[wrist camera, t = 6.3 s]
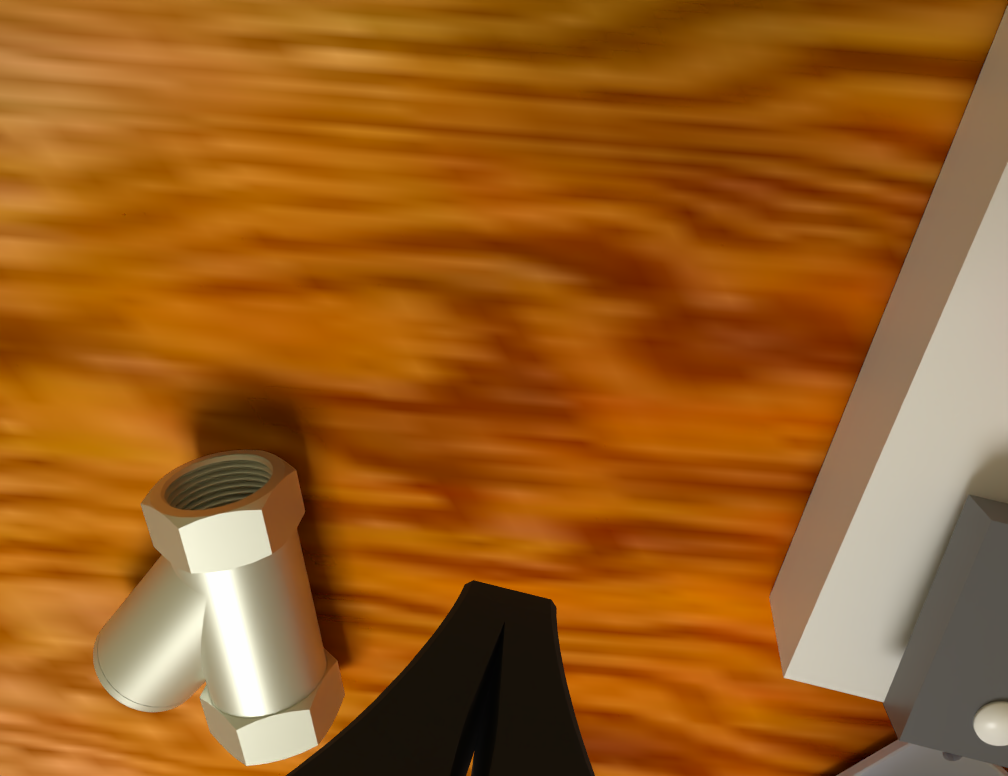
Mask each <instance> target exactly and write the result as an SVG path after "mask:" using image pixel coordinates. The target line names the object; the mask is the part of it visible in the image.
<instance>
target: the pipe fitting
mask: <svg viewBox="0 0 1008 776" xmlns="http://www.w3.org/2000/svg"><path fill="white" fill-rule="evenodd" d="M141 506H142V510H143V513H144V516H145V519H146V523H147V526H148V529H149V533H150V536H151V539H152V542H153V546H154V547H155V548H156V549H157V550H158V551H159V552H160V553H161V554H162V555H161V556H160V558H159V559H158V560H157V561H156V563H155V564H154V565H153V566H152V568H151V569H150V570H149V571H148V572H147V574H146V575H145V576H144V577H143V579H142V580H141V581H140V582H139V584H138V585H137V586H136V587H135V588H134V590H133V591H132V592H131V593H130V595H129V596H128V597H127V598H126V600H125V601H124V602H123V603H122V605H121V606H120V607H119V608H118V609H117V611H116V612H115V613H114V614H113V616H112V617H111V618H110V619H109V621H108V622H107V623H106V624H105V625H104V627H103V628H102V629H101V631H100V632H99V634H98V636H97V638H96V641H95V645H94V650H93V662H94V667H95V671H96V674H97V676H98V678H99V680H100V682H101V684H102V685H103V687H104V688H105V689H106V690H107V692H108V693H109V694H110V695H111V696H112V697H114V698H115V699H116V700H117V701H119V702H120V703H122V704H124V705H126V706H128V707H130V708H133V709H136V710H140V711H145V712H161V711H167V710H170V709H173V708H175V707H177V706H179V705H181V704H183V703H184V702H185V701H187V700H188V699H189V698H190V697H191V696H192V695H193V694H194V693H195V692H196V691H197V690H198V689H199V687H200V686H201V685H202V684H203V683H204V682H205V681H206V683H207V685H206V686H205V688H204V690H203V692H202V694H201V696H200V700H201V704H202V707H203V710H204V713H205V717H206V720H207V723H208V727H209V730H210V732H211V734H212V735H213V736H214V737H215V738H216V739H217V740H218V742H219V743H220V744H221V745H222V746H223V747H224V748H225V749H226V750H227V751H228V752H229V753H230V754H231V755H233V756H234V757H235V758H236V759H237V760H239V761H240V762H242V763H243V764H245V765H246V766H249V765H258V764H266V763H270V762H275V761H279V760H283V759H286V758H289V757H292V756H295V755H298V754H300V753H303V752H305V751H307V750H309V749H311V748H313V747H315V746H317V745H318V744H319V743H320V742H321V740H322V739H323V738H324V736H325V735H326V733H327V732H328V730H329V728H330V727H331V725H332V723H333V721H334V719H335V717H336V715H337V713H338V711H339V708H340V706H341V703H342V701H343V698H344V695H345V693H344V688H343V684H342V679H341V674H340V670H339V665H338V660H336V659H335V658H334V657H333V656H332V655H331V654H330V653H329V652H328V651H327V650H326V649H324V647H323V643H322V638H321V634H320V629H319V625H318V620H317V616H316V611H315V607H314V602H313V598H312V593H311V589H310V584H309V580H308V576H307V571H306V567H305V562H304V558H303V553H302V549H301V544H300V540H299V535H298V531H297V527H298V525H299V523H300V521H301V519H302V517H303V515H304V513H305V508H304V503H303V499H302V494H301V489H300V485H299V480H298V476H297V471H296V469H295V468H293V467H292V466H291V465H290V464H288V463H287V462H286V461H284V460H283V459H281V458H279V457H278V456H276V455H274V454H272V453H269V452H266V451H261V450H232V451H225V452H219V453H215V454H211V455H207V456H204V457H201V458H198V459H195V460H192V461H190V462H188V463H185V464H183V465H181V466H179V467H177V468H176V469H174V470H172V471H171V472H169V473H168V474H166V475H165V476H164V477H163V478H161V479H160V480H159V481H158V482H157V483H156V485H155V486H154V487H153V488H152V489H151V490H150V491H149V493H148V494H147V495H146V497H145V498H144V500H143V501H142V503H141Z"/></svg>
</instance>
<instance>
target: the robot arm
mask: <svg viewBox="0 0 1008 776" xmlns="http://www.w3.org/2000/svg"><path fill="white" fill-rule="evenodd" d="M474 750H475V751H474ZM473 753H474V758H473V766H472V773H471V776H595V775H594V772H593V769H592V766H591V764H590V761H589V758H588V755H587V752H586V749H585V746H584V743H583V740H582V737H581V734H580V730H579V727H578V724H577V720H576V717H575V713H574V709H573V705H572V701H571V698H570V694H569V690H568V686H567V682H566V677H565V673H564V668H563V663H562V657H561V652H560V646H559V639H558V631H557V618H556V606H555V605H554V603H553V602H552V600H551V599H547V598H543V597H539V596H535V595H530V594H526V593H522V592H518V591H514V590H510V589H506V588H502V587H498V586H494V585H490V584H486V583H482V582H478V581H474V580H473V581H471V582H469V583H467V584H465V585H464V588H463V590H462V592H461V594H460V596H459V597H458V599H457V601H456V602H455V604H454V606H453V607H452V609H451V610H450V612H449V613H448V615H447V616H446V618H445V619H444V621H443V622H442V623H441V625H440V626H439V627H438V629H437V630H436V631H435V633H434V634H433V635H432V637H431V638H430V639H429V640H428V642H427V643H426V644H425V645H424V646H423V648H422V649H421V650H420V651H419V652H418V654H417V655H416V656H415V657H414V659H413V660H412V661H411V662H410V663H409V664H408V666H407V667H406V668H405V669H404V670H403V671H402V672H401V673H400V674H399V675H398V676H397V678H396V679H395V680H394V681H393V682H392V683H391V684H390V685H389V686H388V687H387V688H386V689H385V690H384V691H383V692H382V693H381V694H380V695H379V696H378V697H377V699H376V700H375V701H374V702H373V703H372V704H371V705H369V706H368V707H367V708H366V709H365V710H364V711H363V712H362V713H361V714H360V715H359V716H358V717H357V718H356V719H355V720H354V721H352V722H351V723H350V724H349V725H348V726H347V727H346V728H345V729H343V730H342V731H341V732H340V733H339V734H338V735H337V736H335V737H334V738H333V739H332V740H331V741H330V742H328V743H327V744H326V745H325V746H323V747H322V748H321V749H320V750H318V751H317V752H316V753H315V754H313V755H312V756H311V757H309V758H308V759H307V760H306V761H304V762H303V763H302V764H301V765H299V766H298V767H297V768H295V769H294V770H293V771H291V772H290V773H289V774H287V775H286V776H466V774H467V771H468V768H469V765H470V762H471V759H472V756H473ZM836 776H1008V772H1007V771H1006V770H1005V769H1003V768H1002V767H1001V766H999V765H995V764H991V763H987V762H983V761H979V760H975V759H971V758H967V757H963V756H959V755H955V754H951V753H947V752H943V751H939V750H935V749H931V748H927V747H923V746H919V745H915V744H911V743H907V742H903V741H899V739H898V740H896V741H894V742H893V743H891V744H889V745H888V746H886V747H884V748H882V749H881V750H879V751H877V752H876V753H874V754H872V755H870V756H869V757H867V758H865V759H864V760H862V761H860V762H859V763H857V764H855V765H853V766H852V767H850V768H848V769H847V770H845V771H843V772H841V773H840V774H838V775H836Z"/></svg>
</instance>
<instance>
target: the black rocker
mask: <svg viewBox="0 0 1008 776" xmlns="http://www.w3.org/2000/svg"><path fill="white" fill-rule="evenodd" d="M883 705H884V707H885V710H886V712H887V714H888V717H889V719H890V721H891V723H892V726H893V728H894V730H895V733H896V735H897V737H898V739H899V741H903V742H907V743H911V744H915V745H919V746H923V747H927V748H931V749H935V750H939V751H943V752H947V753H951V754H955V755H959V756H963V757H967V758H971V759H975V760H979V761H983V762H987V763H991V764H995V765H999V766H1003V767H1007V768H1008V503H1003V502H999V501H995V500H991V499H986V498H982V497H978V496H973V495H968V497H967V499H966V502H965V504H964V507H963V509H962V512H961V514H960V517H959V519H958V521H957V524H956V526H955V529H954V531H953V534H952V536H951V539H950V541H949V544H948V546H947V548H946V551H945V553H944V556H943V558H942V561H941V563H940V566H939V568H938V571H937V573H936V575H935V578H934V580H933V583H932V585H931V588H930V590H929V593H928V595H927V597H926V600H925V602H924V605H923V607H922V610H921V612H920V615H919V617H918V620H917V622H916V624H915V627H914V629H913V632H912V634H911V637H910V639H909V642H908V644H907V647H906V649H905V651H904V654H903V656H902V659H901V661H900V664H899V666H898V669H897V671H896V673H895V676H894V678H893V681H892V683H891V686H890V688H889V691H888V693H887V696H886V698H885V700H884V703H883Z"/></svg>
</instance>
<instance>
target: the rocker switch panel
mask: <svg viewBox="0 0 1008 776" xmlns="http://www.w3.org/2000/svg"><path fill="white" fill-rule="evenodd" d="M968 495H973V496H978V497H982V498H986V499H991V500H995V501H999V502H1003V503H1008V6H1007V8H1006V11H1005V13H1004V16H1003V18H1002V20H1001V23H1000V25H999V28H998V30H997V33H996V35H995V38H994V40H993V43H992V45H991V48H990V50H989V53H988V55H987V58H986V60H985V63H984V65H983V68H982V70H981V73H980V75H979V78H978V80H977V83H976V85H975V88H974V90H973V93H972V95H971V98H970V100H969V102H968V105H967V107H966V110H965V112H964V115H963V117H962V120H961V122H960V125H959V127H958V130H957V132H956V135H955V137H954V140H953V142H952V145H951V147H950V150H949V152H948V155H947V157H946V160H945V162H944V165H943V167H942V170H941V172H940V175H939V177H938V180H937V182H936V184H935V187H934V189H933V192H932V194H931V197H930V199H929V202H928V204H927V207H926V209H925V212H924V214H923V217H922V219H921V222H920V224H919V227H918V229H917V232H916V234H915V237H914V239H913V242H912V244H911V247H910V249H909V252H908V254H907V257H906V259H905V261H904V264H903V266H902V269H901V271H900V274H899V276H898V279H897V281H896V284H895V286H894V289H893V291H892V294H891V296H890V299H889V301H888V304H887V306H886V309H885V311H884V314H883V316H882V319H881V321H880V324H879V326H878V329H877V331H876V334H875V336H874V339H873V341H872V343H871V346H870V348H869V351H868V353H867V356H866V358H865V361H864V363H863V366H862V368H861V371H860V373H859V376H858V378H857V381H856V383H855V386H854V388H853V391H852V393H851V396H850V398H849V401H848V403H847V406H846V408H845V411H844V413H843V416H842V418H841V421H840V423H839V425H838V428H837V430H836V433H835V435H834V438H833V440H832V443H831V445H830V448H829V450H828V453H827V455H826V458H825V460H824V463H823V465H822V468H821V470H820V473H819V475H818V478H817V480H816V483H815V485H814V488H813V490H812V493H811V495H810V498H809V500H808V503H807V505H806V507H805V510H804V512H803V515H802V517H801V520H800V522H799V525H798V527H797V530H796V532H795V535H794V537H793V540H792V542H791V545H790V547H789V550H788V552H787V555H786V557H785V560H784V562H783V565H782V567H781V570H780V572H779V575H778V577H777V580H776V582H775V585H774V587H773V589H772V592H771V594H770V597H769V598H770V604H771V609H772V615H773V621H774V626H775V632H776V637H777V643H778V648H779V654H780V660H781V665H782V671H783V676H784V678H788V679H792V680H796V681H800V682H804V683H808V684H812V685H816V686H820V687H824V688H828V689H832V690H836V691H840V692H844V693H848V694H852V695H856V696H860V697H864V698H868V699H872V700H876V701H880V702H884V700H885V698H886V696H887V693H888V691H889V688H890V686H891V683H892V681H893V678H894V676H895V673H896V671H897V669H898V666H899V664H900V661H901V659H902V656H903V654H904V651H905V649H906V647H907V644H908V642H909V639H910V637H911V634H912V632H913V629H914V627H915V624H916V622H917V620H918V617H919V615H920V612H921V610H922V607H923V605H924V602H925V600H926V597H927V595H928V593H929V590H930V588H931V585H932V583H933V580H934V578H935V575H936V573H937V571H938V568H939V566H940V563H941V561H942V558H943V556H944V553H945V551H946V548H947V546H948V544H949V541H950V539H951V536H952V534H953V531H954V529H955V526H956V524H957V521H958V519H959V517H960V514H961V512H962V509H963V507H964V504H965V502H966V499H967V497H968Z"/></svg>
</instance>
